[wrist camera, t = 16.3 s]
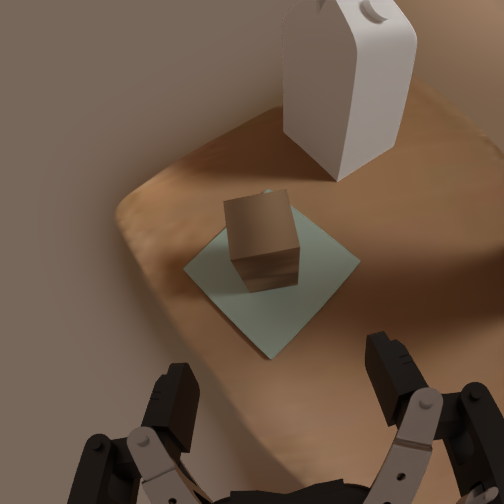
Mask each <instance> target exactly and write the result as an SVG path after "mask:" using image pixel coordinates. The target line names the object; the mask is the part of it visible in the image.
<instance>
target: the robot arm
mask: <svg viewBox="0 0 504 504" xmlns="http://www.w3.org/2000/svg"><path fill="white" fill-rule="evenodd" d="M365 367H366V370H367V373H368V376H369V378H370V381H371V383H372V386H373V388H374V391H375V393H376V396H377V398H378V401H379V403H380V406H381V409H382V411H383V414H384V417H385V419H386V422H387V425H388V427H389V426H392V425H395V424H396V426H397V429H398V431H397V433H396V436H395V438H394V440H393V443H392V445H391V447H390V450H389V452H388V454H387V456H386V458H385V460H384V462H383V464H382V466H381V468H380V470H379V472H378V474H377V476H376V478H375V480H374V481H373V483H372V485H371V487H370V488H368V487H366V486H362V485H358V484H349V483H344V482H343V479H338V480H334V481H329V482H324V483H318V484H314V485H311V486H309V487H306V488H303V489H301V490H298V491H295V492H292V493H289V494H280V493H272V492H265V491H258V490H256V491H231V492H230V497H226V498H223V499H220V500H218V501H215V502H213V501H212V500H211V499H210V498H209V496H208V495H207V494H206V493H205V492H204V491H203V490H202V489H201V488H200V487H199V485H198V484H197V482H196V481H195V480H194V478H193V477H192V476H191V474H190V473H189V471H188V470H187V469H186V467H185V465H184V464H183V462H182V461H181V460H180V456H181V452H183V453H190V448H191V442H192V436H193V430H194V425H195V419H196V413H197V408H198V402H199V397H200V389H199V385H198V382H197V380H196V378H195V376H194V374H193V372H192V370H191V368H190V366H189V364H188V363H172V364H171V365H170V366H169V369H168V372H167V375H161V377H160V378H159V379H158V380H157V381H156V383H155V385H154V388H153V391H152V392H153V393H152V394H151V397H150V401H149V403H148V406H147V409H146V412H145V415H144V418H143V421H142V424H141V427H139V428H136V429H134V430H133V431H132V432H131V433H130V434H129V436H128V437H126V438H120V439H114V440H110V439H109V438H108V437H107V436H106V435H103V434H95V435H93V436H91V437H90V438H89V439H88V440H87V442H86V444H85V447H84V450H83V453H82V456H81V459H80V462H79V465H78V468H77V471H76V475H75V478H74V481H73V484H72V488H71V492H70V495H69V499H68V502H67V504H136V502H137V495H138V490H139V484H140V479H141V478H142V477H143V480H144V481H143V482H142V487H143V489H144V491H145V493H146V495H147V497H148V498H149V500H150V502H151V504H411V503H412V501H413V499H414V497H415V494H416V492H417V490H418V488H419V485H420V483H421V480H422V478H423V476H424V473H425V470H426V468H427V465H428V462H429V460H430V457H431V454H432V447H431V446H432V442H433V440H439V439H443V442H444V444H445V447H446V450H447V453H448V456H449V459H450V462H451V465H452V468H453V471H454V474H455V478H456V481H457V484H458V488H459V491H460V495H461V498H460V499H459V500H458V501H457V503H456V504H504V418H503V416H502V414H501V412H500V410H499V408H498V407H497V405H496V403H495V401H494V399H493V397H492V396H491V394H490V392H489V390H488V389H487V387H486V386H485V385H483V384H481V383H479V382H472V383H469V384H467V385H466V386H465V387H464V388H463V389H462V391H461V392H457V393H449V394H440V392H438V391H437V390H436V389H433V388H429V386H428V385H427V383H426V381H425V380H424V378H423V376H422V374H421V373H420V371H419V369H418V367H417V366H416V364H415V362H413V359H412V357H411V355H409V352H408V350H407V349H406V347H405V345H403V344H402V343H400V342H399V341H398V340H396V339H395V340H392V341H390V340H389V339H388V337H387V335H386V333H385V332H384V331H382V332H378V333H374V334H370V335H367V339H366V351H365Z"/></svg>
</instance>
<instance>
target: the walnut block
mask: <svg viewBox="0 0 504 504" xmlns="http://www.w3.org/2000/svg"><path fill="white" fill-rule="evenodd" d="M223 202H224V211H225V220H226V229H227V237H228V246H229V254H230V261H231V262H232V264H233V265H234V267H235V269H236V270H237V272H238V274H239V275H240V277H241V279H242V280H243V282H244V284H245V285H246V287H247V288H248V290H249V292H250V293H255V292H261V291H267V290H272V289H278V288H283V287H288V286H294V285H298V276H299V260H300V244H299V239H298V235H297V231H296V227H295V222H294V218H293V214H292V210H291V206H290V202H289V198H288V194H287V191H286V189H284V190H278V191H273V192H268V193H262V194H257V195H252V196H247V197H242V198H237V199H232V200H227V201H223Z"/></svg>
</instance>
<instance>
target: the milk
mask: <svg viewBox="0 0 504 504" xmlns="http://www.w3.org/2000/svg"><path fill="white" fill-rule="evenodd" d="M282 41H283V43H282V44H283V132H284V133H285V134H286V135H287V136H288V137H289V138H291V139H292V140H293V141H294V142H295V143H296V144H297V145H299V146H300V147H301V148H302V149H303V150H304V151H305V152H306V153H307V154H308V155H310V156H311V157H312V158H313V159H314V160H315V161H316V162H317V163H318V164H319V165H320V166H321V167H322V168H323V169H325V170H326V171H327V172H328V173H329V174H330V175H331V176H332V177H333V178H334V179H335V180H336V181H337V182H338V181H339V180H341V179H342V178H344V177H346V176H347V175H349V174H350V173H352V172H353V171H355V170H357V169H358V168H360V167H361V166H363V165H364V164H366V163H368V162H369V161H371V160H372V159H374V158H376V157H377V156H379V155H380V154H382V153H384V152H385V151H387V150H388V149H390V148H392V147H393V146H394V144H395V140H396V137H397V133H398V129H399V126H400V122H401V118H402V114H403V110H404V106H405V102H406V98H407V94H408V89H409V85H410V80H411V75H412V70H413V65H414V59H415V54H416V48H417V37H416V34H415V31H414V29H413V27H412V25H411V24H410V22H409V21H408V20H407V18H406V17H405V15H404V14H403V13H402V11H401V10H400V8H399V7H398V6H397V5H396V3H395V2H394V1H393V0H299V1H298V2H297V3H295V4H294V5H293V6H292V7H291V8H290V9H289V10H288V11H287V12H286V14H285V15H284V17H283V20H282Z"/></svg>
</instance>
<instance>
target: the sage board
mask: <svg viewBox="0 0 504 504" xmlns="http://www.w3.org/2000/svg"><path fill="white" fill-rule="evenodd" d="M268 192H272V191H271V190H269V189H268V190H266V191H265V192H264V193H268ZM290 206H291V205H290ZM291 210H292V214H293V218H294V222H295V227H296V231H297V235H298V239H299V244H300V260H299V276H298V285H294V286H288V287H283V288H278V289H272V290H267V291H261V292H255V293H250V292H249V290H248V288H247V287H246V285H245V284H244V282H243V280H242V279H241V277H240V275H239V274H238V272H237V270H236V269H235V267H234V265H233V264H232V262H231V261H230V254H229V246H228V237H227V229H226V228H225V229H224V230H223V231H222V232H221V233H220V234H219V235H218V236H216V237H215V238H214V239H213V240H212V241H211V242H210V243H209V244H208V245H207V246H206V247H205V248H204V249H203V250H202V251H201V252H200V253H199V254H198V255H197V256H195V257H194V258H193V259H192V260H191V261H190V262H189V263H188V264H187V265H186V266H185V267H184V268H183V270H184V271H185V272H186V273H187V274H188V275H189V276H190V278H191V279H192V280H193V281H194V282H195V283H196V284H197V285H198V286H199V287H200V288H201V289H202V291H203V292H204V293H205V294H206V295H207V296H208V297H209V298H210V299H211V300H212V301H213V302H214V303H215V304H216V305H217V306H218V307H219V309H220V310H221V311H222V312H223V313H224V314H225V315H226V316H227V317H228V318H229V319H230V320H231V321H232V322H233V323H234V324H235V325H236V326H237V327H238V328H239V329H240V330H241V331H242V332H243V333H244V334H245V335H246V336H247V337H248V338H249V339H250V340H251V341H252V342H253V343H254V344H255V345H256V346H257V347H258V348H259V349H260V350H261V351H262V352H263V353H264V354H265V355H267V356H268V357H269V358H270V359H271V360H272V359H273V358H274V357H275V356H276V355H277V354H278V353H279V352H280V351H281V350H282V349H283V348H284V347H285V346H286V345H287V344H288V343H289V342H290V341H291V340H292V339H293V338H294V337H295V336H296V335H297V334H298V332H299V331H300V330H301V329H302V328H303V327H304V326H305V325H306V324H307V323H308V322H309V321H310V320H311V319H312V318H313V316H314V315H315V314H316V313H317V312H318V311H319V310H320V309H321V308H322V307H323V305H324V304H325V303H326V302H327V301H328V300H329V299H330V298H331V296H332V295H333V294H334V293H335V292H336V291H337V290H338V288H339V287H340V286H341V285H342V284H343V283H344V281H345V280H346V279H347V278H348V277H349V275H350V274H351V273H352V272H353V271H354V269H355V268H356V267H357V266H358V265H359V263H360V262H361V261H360V260H359V259H358V258H356V257H355V256H354V255H353V254H352V253H350V252H349V251H348V250H347V249H346V248H344V247H343V246H342V245H341V244H339V243H338V242H337V241H336V240H334V239H333V238H332V237H331V236H329V235H328V234H327V233H326V232H324V231H323V230H322V229H321V228H319V227H318V226H317V225H316V224H314V223H313V222H312V221H310V220H309V219H308V218H307V217H305V216H304V215H303V214H301V213H300V212H299V211H297V210H296V209H295V208H294V207H292V206H291Z"/></svg>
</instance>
